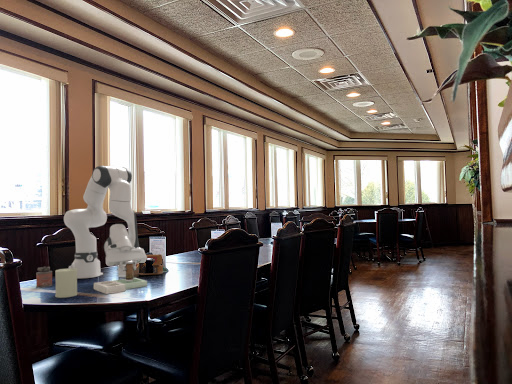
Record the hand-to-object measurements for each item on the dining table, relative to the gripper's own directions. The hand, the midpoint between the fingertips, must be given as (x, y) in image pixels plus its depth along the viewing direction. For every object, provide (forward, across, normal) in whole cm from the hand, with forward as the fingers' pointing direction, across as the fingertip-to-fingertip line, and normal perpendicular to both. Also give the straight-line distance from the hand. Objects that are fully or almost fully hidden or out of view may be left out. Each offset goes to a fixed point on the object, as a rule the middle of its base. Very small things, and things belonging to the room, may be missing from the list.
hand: (129, 269), depth 209 cm
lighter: (-14, +34, -26) cm, 45 cm away
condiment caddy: (-16, -23, -28) cm, 39 cm away
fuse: (+4, 0, -4) cm, 6 cm away
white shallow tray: (+8, +11, -3) cm, 14 cm away
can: (+8, +30, -4) cm, 31 cm away
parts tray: (+5, 0, -6) cm, 8 cm away
